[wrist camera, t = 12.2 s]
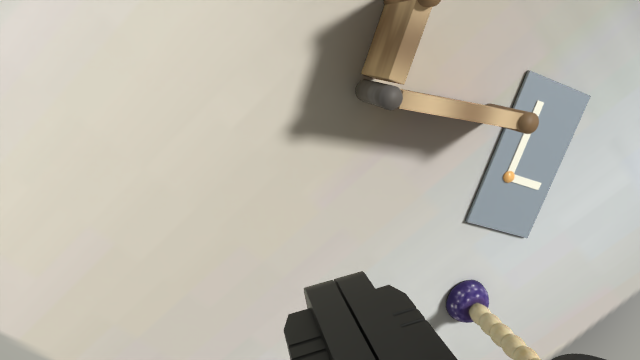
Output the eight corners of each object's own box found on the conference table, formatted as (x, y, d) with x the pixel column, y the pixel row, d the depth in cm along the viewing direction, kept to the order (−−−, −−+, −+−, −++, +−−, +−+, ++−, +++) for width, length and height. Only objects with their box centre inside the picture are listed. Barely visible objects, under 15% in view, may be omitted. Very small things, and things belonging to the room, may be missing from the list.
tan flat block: (388, -14, 34) (425, -25, 29) (406, -6, 35) (446, -15, 29) (358, 72, 36) (388, 78, 30) (376, 79, 36) (409, 86, 31)
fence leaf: (353, 99, 36) (378, 107, 31) (357, 78, 35) (383, 83, 30) (493, 124, 39) (535, 135, 34) (498, 105, 39) (541, 114, 34)
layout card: (527, 70, 39) (531, 70, 39) (588, 95, 41) (591, 96, 41) (465, 220, 42) (468, 222, 42) (525, 236, 44) (528, 238, 44)
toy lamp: (496, 295, 45) (652, 427, 30) (466, 331, 46) (604, 480, 30) (465, 271, 44) (613, 398, 28) (434, 309, 44) (563, 455, 28)
